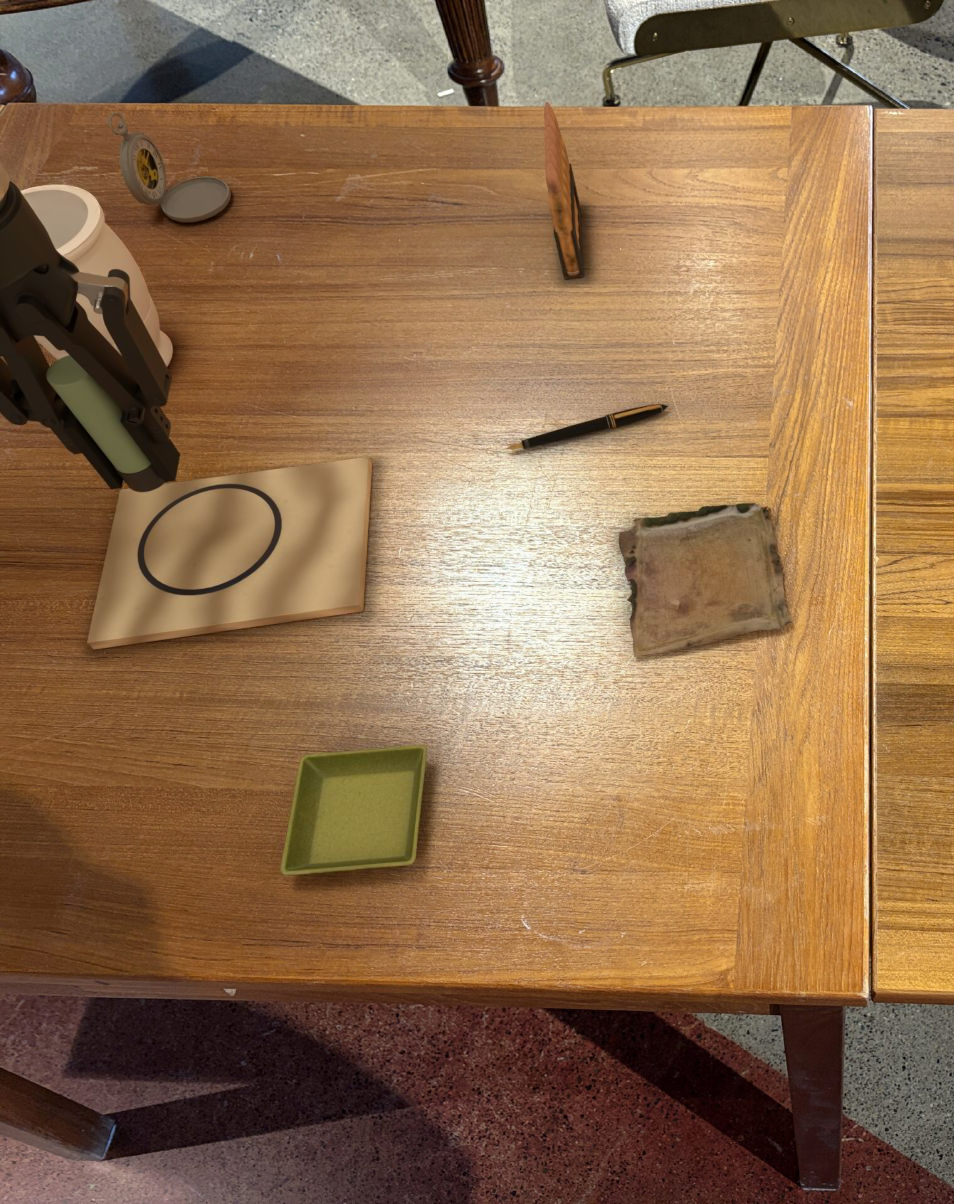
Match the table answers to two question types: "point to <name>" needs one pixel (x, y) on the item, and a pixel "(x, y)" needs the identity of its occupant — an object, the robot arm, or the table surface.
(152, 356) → the robot arm
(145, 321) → the jar
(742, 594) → the parchment
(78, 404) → the marker
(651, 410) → the fountain pen
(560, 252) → the brown thin upright slab
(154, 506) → the sketch board
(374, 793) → the olive green square tray
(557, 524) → the table surface
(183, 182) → the pocket watch
